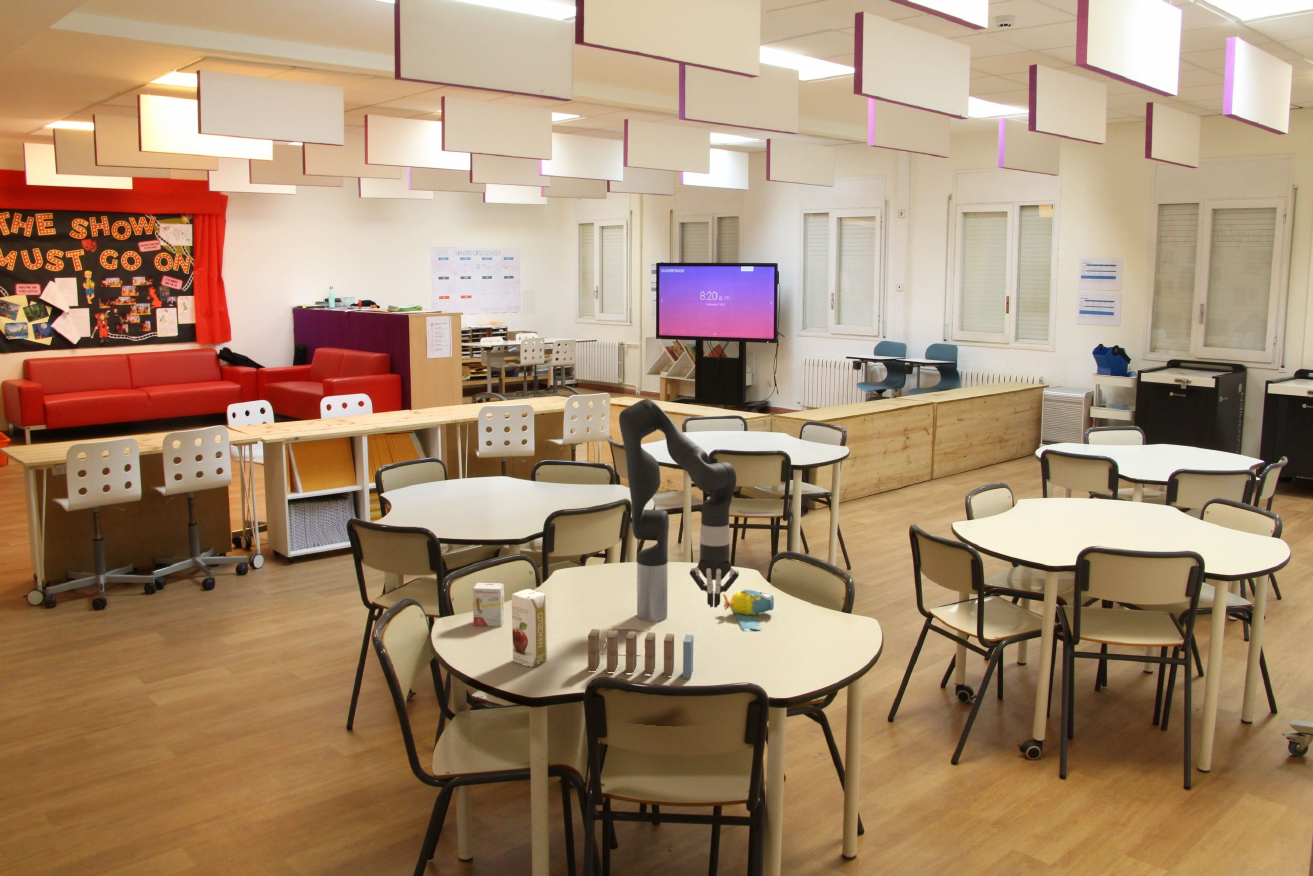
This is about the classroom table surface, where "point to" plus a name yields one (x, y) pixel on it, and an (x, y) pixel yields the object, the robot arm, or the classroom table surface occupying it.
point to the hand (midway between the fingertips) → (713, 606)
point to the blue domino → (688, 656)
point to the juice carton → (529, 627)
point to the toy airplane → (749, 607)
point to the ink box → (488, 604)
